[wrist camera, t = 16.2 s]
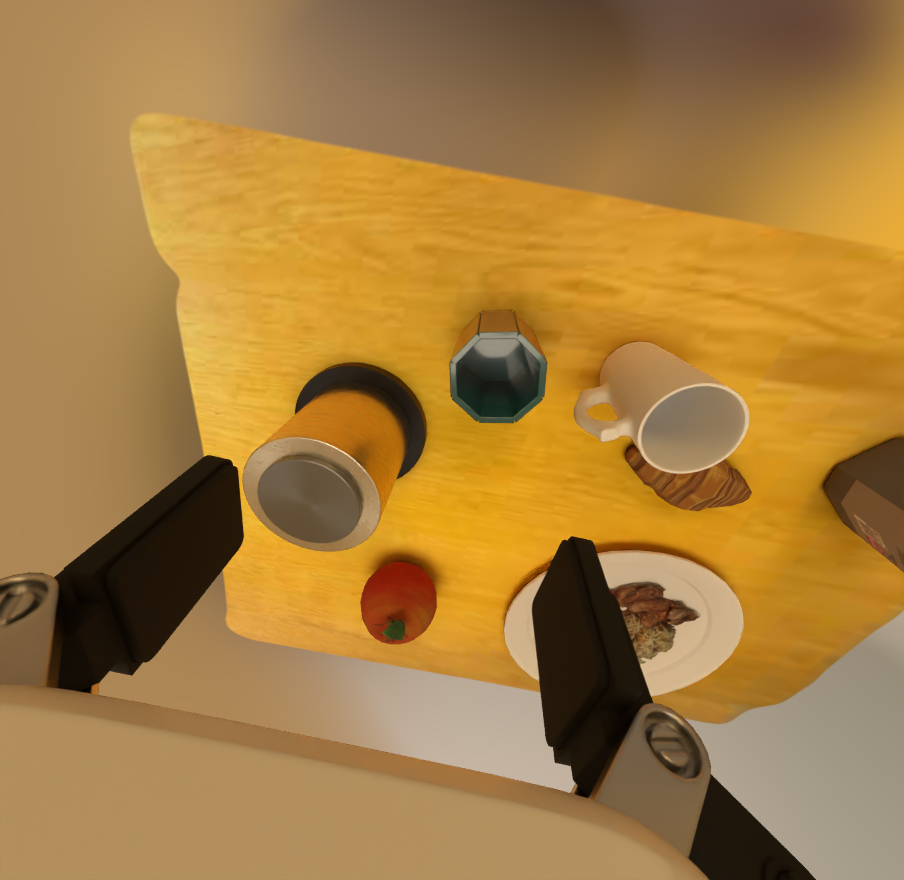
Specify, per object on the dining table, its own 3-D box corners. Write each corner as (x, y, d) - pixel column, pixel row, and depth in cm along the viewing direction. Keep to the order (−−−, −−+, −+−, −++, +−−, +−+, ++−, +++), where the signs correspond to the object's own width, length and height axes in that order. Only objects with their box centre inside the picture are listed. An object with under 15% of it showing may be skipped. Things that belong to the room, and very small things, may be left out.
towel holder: (348, 333, 36) (276, 380, 24) (453, 427, 40) (436, 509, 28) (276, 423, 42) (188, 499, 30) (373, 499, 46) (330, 593, 33)
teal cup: (497, 292, 33) (498, 309, 25) (549, 348, 35) (566, 380, 27) (444, 349, 36) (430, 380, 28) (495, 397, 38) (496, 439, 30)
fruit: (361, 582, 53) (335, 651, 44) (386, 538, 48) (363, 605, 40) (422, 608, 54) (408, 680, 45) (452, 568, 50) (444, 638, 41)
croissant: (606, 473, 41) (620, 501, 36) (641, 420, 38) (660, 444, 33) (717, 511, 42) (744, 543, 37) (761, 462, 39) (795, 491, 34)
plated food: (674, 701, 59) (684, 726, 56) (485, 666, 59) (485, 688, 56) (784, 566, 44) (805, 589, 41) (533, 520, 45) (536, 540, 42)
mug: (673, 331, 33) (756, 373, 23) (671, 400, 36) (743, 466, 26) (557, 353, 35) (584, 403, 25) (564, 417, 38) (591, 486, 28)
